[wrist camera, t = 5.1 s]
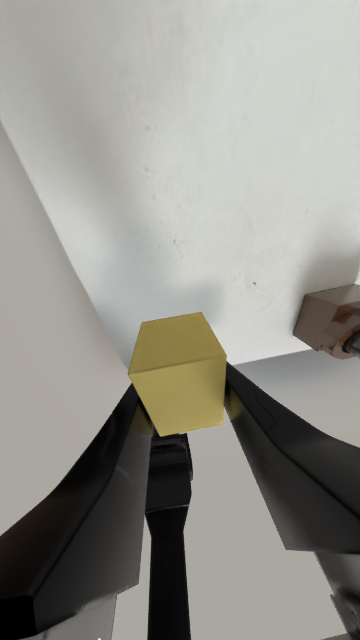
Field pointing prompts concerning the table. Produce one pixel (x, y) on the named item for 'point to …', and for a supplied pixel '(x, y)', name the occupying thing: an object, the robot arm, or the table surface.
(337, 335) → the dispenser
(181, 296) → the table surface
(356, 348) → the dark grey short cylinder
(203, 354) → the yellow block
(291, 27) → the table surface
